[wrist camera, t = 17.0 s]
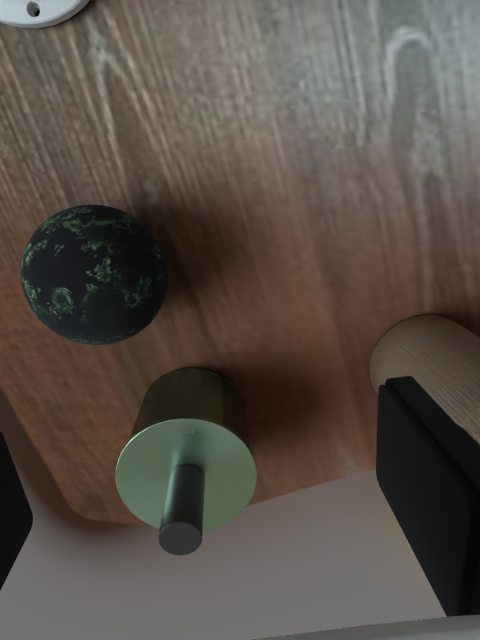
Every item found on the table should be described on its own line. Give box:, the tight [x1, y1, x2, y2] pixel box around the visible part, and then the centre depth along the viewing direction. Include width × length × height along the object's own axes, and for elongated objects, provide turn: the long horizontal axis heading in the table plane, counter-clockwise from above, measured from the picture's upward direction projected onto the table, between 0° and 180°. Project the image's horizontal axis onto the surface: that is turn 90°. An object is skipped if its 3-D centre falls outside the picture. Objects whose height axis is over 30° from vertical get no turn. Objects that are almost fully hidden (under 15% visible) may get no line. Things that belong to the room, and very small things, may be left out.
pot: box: [130, 367, 250, 448], centre depth 36 cm, size 10×10×8 cm
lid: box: [115, 415, 257, 555], centre depth 29 cm, size 11×11×7 cm
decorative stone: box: [21, 205, 168, 345], centre depth 30 cm, size 10×10×10 cm
